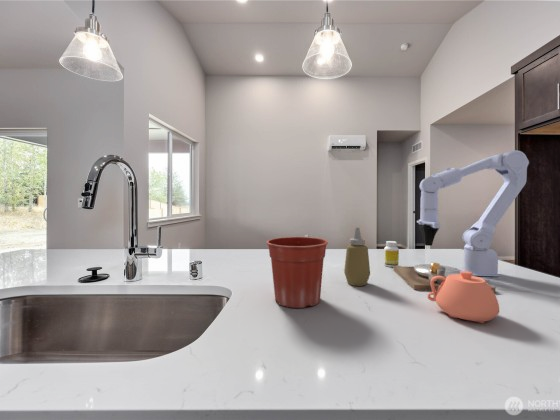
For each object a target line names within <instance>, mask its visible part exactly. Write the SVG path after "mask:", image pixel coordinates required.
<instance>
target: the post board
mask: <svg viewBox="0 0 560 420" xmlns="http://www.w3.org/2000/svg"><path fill="white" fill-rule="evenodd" d="M392 268H393V269H392V270H393V271H394V272H395V274H397V275H398V276H399V277H400V278H401V279H402V280H403V281H404V282H405V283H407V285H408V286H409V287H411V288H412V289H413V290H414V291H430V292H431V291H432V288H431V284H430V282H431V280H429V277H427V276H423V275H420V274H417V273H416V272H414V266H399V265H398V266H393V267H392ZM437 276H443V277H445V270H440V269H438V270H437ZM443 281H444V280H442V279H437V280H436V281H434V287H435V290H436V292H437V290H438V288H439V286H440V285H441V283H442V282H443ZM488 285H489V286H490V288H491V289H492V291H493V292H494V294H496V290H497V288H496V287H495V286H493V285H491V284H489V283H488Z"/></svg>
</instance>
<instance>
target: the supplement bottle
mask: <svg viewBox="0 0 560 420" xmlns="http://www.w3.org/2000/svg"><path fill="white" fill-rule="evenodd" d="M385 245H386V246H385V247H384V248H383V251H384V252H383V265H384V266H385V267H387V268H393V266H399V256H400V255H399V254H400V253H399V247H398V242H397V241H395V240H386V241H385Z"/></svg>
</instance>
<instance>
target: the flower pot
mask: <svg viewBox="0 0 560 420" xmlns="http://www.w3.org/2000/svg"><path fill="white" fill-rule="evenodd" d="M328 244H329V240H327V239H324V238H320V237H311V236H289V237H288V236H287V237H286V236H285V237H283V236H282V237H275V238H271V239H268V240H267V241H266V245H267V246H268V251H269V258H271V259H270V261H271V270H272V272H271V273H272V280H273V290H274V301H275V302H277V303H278V304H279V305H281V306H283V307H287V308H291V309H305V308H306V307H308V306H310V307H314V306H316V305H318V304H319V303H320V301H321V294H322V279H323V272H324V271H323V270H324V269H323V268H324V261H325V256H326V252H327V251H326V250H327V245H328Z"/></svg>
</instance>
